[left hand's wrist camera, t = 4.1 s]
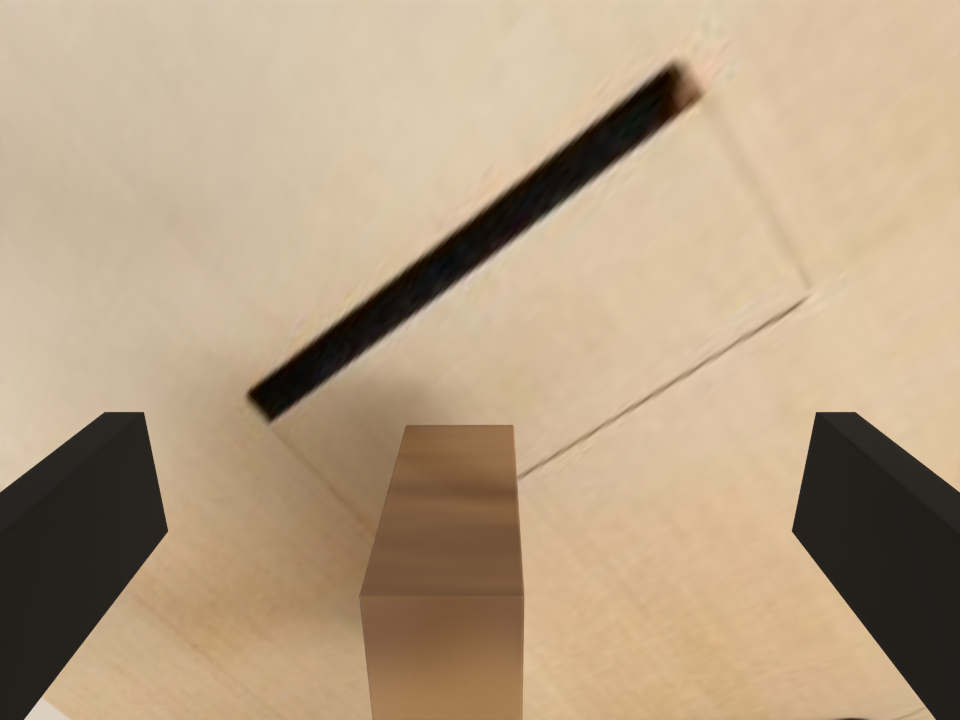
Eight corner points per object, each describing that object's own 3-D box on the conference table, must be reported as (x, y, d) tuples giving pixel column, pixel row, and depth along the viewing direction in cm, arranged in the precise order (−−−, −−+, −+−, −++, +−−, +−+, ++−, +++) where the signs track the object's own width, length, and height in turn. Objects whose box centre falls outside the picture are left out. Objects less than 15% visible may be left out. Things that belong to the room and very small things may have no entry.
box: (405, 424, 34) (358, 595, 22) (513, 424, 34) (524, 596, 22) (423, 703, 41) (395, 941, 30) (511, 704, 41) (518, 943, 29)
